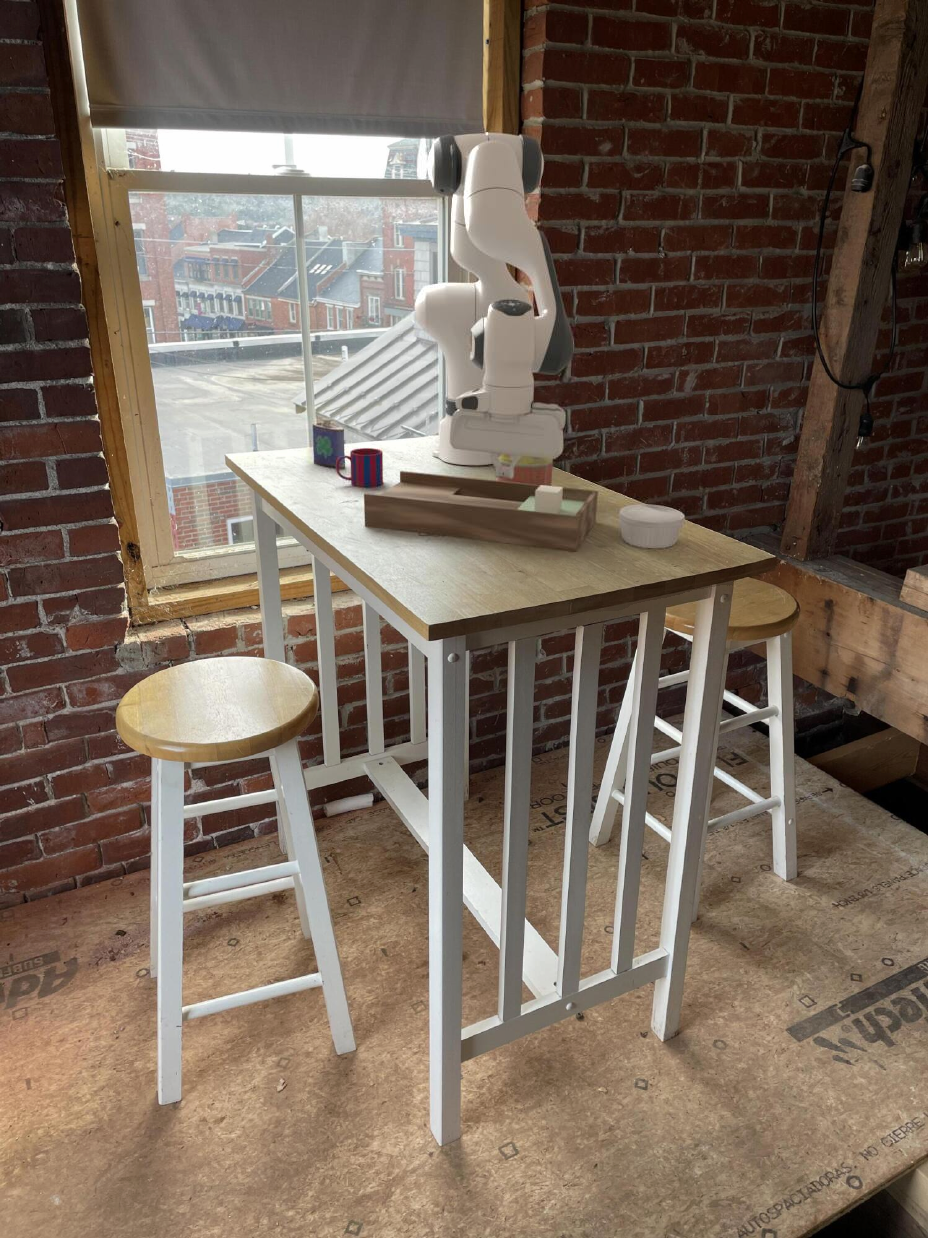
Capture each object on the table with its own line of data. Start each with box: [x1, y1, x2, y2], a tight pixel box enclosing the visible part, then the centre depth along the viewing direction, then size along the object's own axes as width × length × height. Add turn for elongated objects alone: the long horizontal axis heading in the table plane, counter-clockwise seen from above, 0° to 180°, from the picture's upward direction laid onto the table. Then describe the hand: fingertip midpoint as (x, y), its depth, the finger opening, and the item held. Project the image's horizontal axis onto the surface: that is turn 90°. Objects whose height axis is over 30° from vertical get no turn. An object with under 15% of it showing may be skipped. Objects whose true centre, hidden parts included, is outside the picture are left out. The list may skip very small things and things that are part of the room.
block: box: [534, 485, 563, 514], centre depth 161 cm, size 4×4×4 cm
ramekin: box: [618, 503, 686, 549], centre depth 159 cm, size 11×11×5 cm
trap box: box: [363, 470, 599, 553], centre depth 166 cm, size 18×39×6 cm, turn 72°
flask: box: [312, 417, 346, 470], centre depth 204 cm, size 9×3×11 cm, turn 52°
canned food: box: [496, 454, 554, 486], centre depth 182 cm, size 11×11×12 cm
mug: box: [335, 447, 384, 488], centre depth 190 cm, size 7×10×7 cm
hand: (504, 477), depth 163 cm, fingers closed
